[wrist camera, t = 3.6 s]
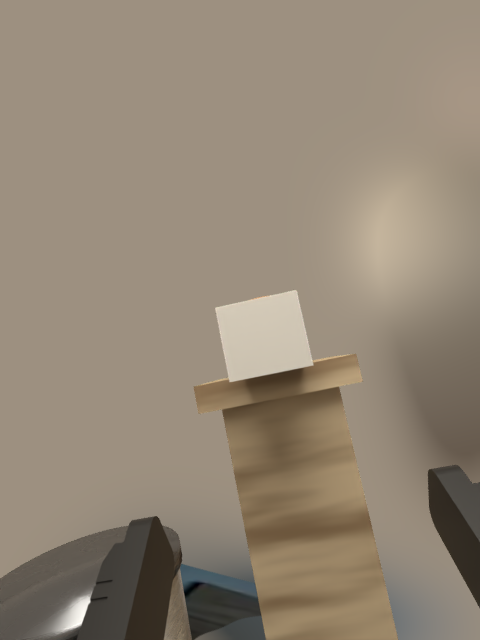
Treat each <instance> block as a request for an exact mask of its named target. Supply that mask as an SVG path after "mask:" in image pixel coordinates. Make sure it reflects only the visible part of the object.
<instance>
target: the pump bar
mask: <svg viewBox="0 0 480 640" xmlns="http://www.w3.org/2000/svg"><path fill="white" fill-rule="evenodd" d="M215 310H216V315H217V321H218V326H219V331H220V336H221V341H222V346H223V350H224V356H225V361H226V366H227V371H228V377H229V382H234V381H239V380H244V379H249V378H254V377H258V376H263V375H268V374H273V373H278V372H283V371H288V370H293V369H298V368H303V367H308V366H313V361H312V356H311V352H310V347H309V343H308V338H307V334H306V330H305V326H304V321H303V317H302V312H301V308H300V303H299V299H298V294H297V290H294V291H289V292H285V293H280V294H276V295H271V296H264V297H259V298H255V299H252V300H248V301H244V302H239V303H234V304H230V305H225V306H221V307H216V308H215Z"/></svg>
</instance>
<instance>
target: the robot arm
mask: <svg viewBox="0 0 480 640" xmlns="http://www.w3.org/2000/svg"><path fill="white" fill-rule="evenodd" d="M428 489H429V508H430V513H431V517H432V520H433V523H434V525H435V527H436V529H437V531H438V533H439V535H440V537H441V539H442V541H443V542H444V544H445V546H446V548H447V550H448V551H449V553H450V555H451V557H452V559H453V560H454V562H455V564H456V566H457V568H458V569H459V571H460V573H461V575H462V577H463V579H464V580H465V582H466V584H467V586H468V588H469V589H470V591H471V593H472V595H473V597H474V598H475V600H476V602H477V604H478V606H479V607H480V482H479V483H473V484H472V482H471V481H470V480H469V478H468V477H467V476H466V474H465V473H464V472H463V470H462V469H461V468H460V467H459V466H458V465H452V466H446V467H440V468H435V469H430V470H429V471H428ZM173 575H174V555H173V551H172V548H171V545H170V543H169V541H168V538H167V536H166V534H165V531H164V529H163V527H162V524H161V522H160V520H159V518H158V517H157V516H155V517H149V518H143V519H137V520H132V521H131V522H130V524H129V526H128V529H127V533H126V536H125V540H124V542H121V543H115V544H114V546H113V547H112V549H111V550H110V552H109V553H108V555H107V556H106V558H105V559H104V560H103V562H102V565H101V568H100V571H99V574H98V577H97V580H96V586H94V589H93V592H92V595H91V598H90V604H88V607H87V610H86V613H85V616H84V619H83V622H82V625H81V628H80V631H79V634H78V637H77V640H164V636H165V629H166V622H167V616H168V609H169V602H170V595H171V589H172V582H173Z"/></svg>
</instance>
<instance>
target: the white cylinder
mask: <svg viewBox="0 0 480 640" xmlns="http://www.w3.org/2000/svg"><path fill="white" fill-rule="evenodd" d="M162 527H163V529H164V531H165V534H166V536H167V538H168V541H169V543H170V545H171V548H172V551H173V555H174V575H173V582H172V589H171V595H170V602H169V609H168V616H167V622H166V629H165V636H164V640H192V639H191V633H190V627H189V621H188V615H187V609H186V603H185V597H184V591H183V585H182V579H181V573H180V566H181V562H182V552H181V546H180V540H179V537H178V534H177V533H176V532H175V531H174V530H172V529H171V528H168V527H165V526H162ZM127 529H128V526H126V527H119V528H114V529H110V530H106V531H102V532H98V533H95V534H92V535H88V536H85V537H82V538H80V539H77V540H74V541H71V542H69V543H66V544H64V545H61V546H59V547H57V548H54V549H52V550H50V551H48V552H46V553H43V554H41V555H40V556H38V557H36V558H34V559H32V560H30V561H28V562H26V563H24V564H23V565H21V566H20V567H18V568H16V569H15V570H13V571H11V572H9V573H8V574H7V575H5V576H4V577H2V578H1V579H0V640H77V637H78V634H79V631H80V628H81V625H82V622H83V619H84V616H85V613H86V610H87V607H88V604H90V598H91V595H92V592H93V589H94V586H96V580H97V577H98V574H99V571H100V568H101V565H102V562H103V560H104V559H105V558H106V556H107V555H108V553H109V552H110V550H111V549H112V547H113V546H114V544H115V543H121V542H124V540H125V536H126V533H127Z"/></svg>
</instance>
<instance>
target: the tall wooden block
mask: <svg viewBox="0 0 480 640" xmlns="http://www.w3.org/2000/svg"><path fill="white" fill-rule="evenodd" d="M359 382H363V380H362V376H361V372H360V368H359V364H358V359H357V356H356V354H350V355H341V356H333V357H328V358H323V359H318V360H313V366H308V367H303V368H298V369H293V370H288V371H283V372H278V373H273V374H268V375H263V376H258V377H254V378H249V379H244V380H239V381H234V382H229V378H225V379H219V380H216V381H212V382H209V383H205V384H202V385H198V386H195V387H194V391H195V396H196V402H197V408H198V413H199V414H201V413H206V412H211V411H216V410H221V409H222V411H223V417H224V422H225V427H226V433H227V438H228V443H229V448H230V454H231V459H232V464H233V469H234V474H235V480H236V485H237V490H238V495H239V501H240V506H241V511H242V516H243V521H244V527H245V532H246V537H247V542H248V548H249V553H250V558H251V563H252V568H253V574H254V579H255V584H256V589H257V595H258V600H259V605H260V610H261V616H262V621H263V626H264V631H265V636H266V640H398V637H397V632H396V628H395V624H394V619H393V615H392V611H391V607H390V602H389V598H388V594H387V590H386V585H385V581H384V577H383V573H382V568H381V564H380V560H379V555H378V552H377V547H376V543H375V538H374V534H373V530H372V526H371V521H370V517H369V513H368V509H367V505H366V500H365V496H364V491H363V488H362V483H361V479H360V474H359V470H358V466H357V462H356V457H355V453H354V449H353V445H352V440H351V436H350V432H349V428H348V423H347V419H346V415H345V411H344V406H343V402H342V398H341V394H340V389H339V386H344V385H348V384H353V383H359Z"/></svg>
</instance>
